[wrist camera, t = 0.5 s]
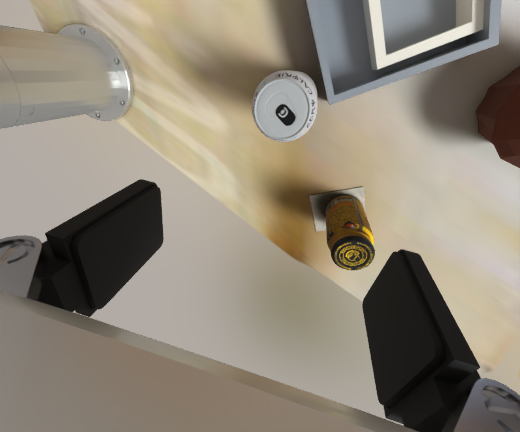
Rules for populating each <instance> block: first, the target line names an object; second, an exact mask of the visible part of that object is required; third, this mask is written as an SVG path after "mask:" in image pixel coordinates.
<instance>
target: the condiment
mask: <svg viewBox="0 0 520 432" xmlns="http://www.w3.org/2000/svg"><path fill="white" fill-rule="evenodd" d="M309 197H310V202H311V207H312V212H313V217H314V223H315V228H316V231H324V230H326V231H327V244H328V247H329V249H330V251H331V257H332V259H333V261H334V263H335V264H336V265H338V266H339V267H341V268H343V269H347V270H359V269H362V268H364V267H367V266H368V265H369V264H370V263H371V262H372V260H373V258H374V255H375V250H374V247H373V242H374V238H373V234H372V231H371V229H370V225H369V223H368V220H367V217H366V211H365V196H364V187H361V188H353V189H347V190H341V191H335V192H330V193H322V194H317V195H311V196H309ZM325 219H326V220H325Z"/></svg>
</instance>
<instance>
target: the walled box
mask: <svg viewBox="0 0 520 432" xmlns="http://www.w3.org/2000/svg"><path fill="white" fill-rule="evenodd" d="M501 1H502V0H306V4H307V9H308V14H309V18H310V23H311V28H312V32H313V37H314V41H315V46H316V51H317V55H318V60H319V64H320V69H321V74H322V78H323V83H324V88H325V92H326V97H327V101H328V104H329V105H331V104H334V103H337V102H339V101H342V100H345V99H348V98H351V97H353V96H356V95H359V94H362V93H365V92H367V91H370V90H373V89H376V88H378V87H381V86H384V85H387V84H390V83H392V82H395V81H398V80H401V79H404V78H406V77H409V76H412V75H415V74H418V73H420V72H423V71H426V70H429V69H432V68H434V67H437V66H440V65H443V64H446V63H448V62H451V61H454V60H457V59H460V58H462V57H465V56H468V55H471V54H474V53H476V52H479V51H482V50H485V49H487V48H490V47H493V46H496V45H499V32H500V16H501Z"/></svg>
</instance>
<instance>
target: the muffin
mask: <svg viewBox="0 0 520 432" xmlns="http://www.w3.org/2000/svg"><path fill="white" fill-rule="evenodd" d="M476 115H477V119H478V132H479V133H480V134H481V135H482V136H484V137H485V138H486V139H487V140H489V141H490V142H491V143H492V144H494V146H495V148H496V150H497V152H498V155H499V157H500V159H502V160H504V161H506V162H509V163H511V164H513V165H515V166H517V167H519V168H520V67H517V68H516V69H515V70H513V71H512V72H511V73H510V74H508V75H507V76H506V77H505V78H503V79H502V80H500V81H498V82H497V83H495V84H493V85H492V86H490V87H489V89H488V91H487V94H486V96H485V98H484V100H483V101H482V103H481V104H480V106H479V107H478V109H477V110H476Z"/></svg>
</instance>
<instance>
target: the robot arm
mask: <svg viewBox="0 0 520 432" xmlns="http://www.w3.org/2000/svg"><path fill="white" fill-rule="evenodd" d="M132 97H133V83H132V77H131V73H130V70H129V67H128V65H127V63H126V61H125V59H124V57H123V55H122V54H121V52H120V50H119V49H118V48H117V46H116V45H115V44H114V43H113V42H112V41H111V40H110V39H109V38H108V37H107V36H106V35H105V34H104V33H102V32H100V31H99V30H97V29H95V28H93V27H90V26H87V25H82V24H70V25H67V26H65V27H63V28H62V29H61V30H60V31H59V32H58V33H57V34H53V33H47V32H40V31H34V30H27V29H21V28H14V27H7V26H1V25H0V129H1V128H7V127H13V126H19V125H24V124H30V123H36V122H42V121H47V120H53V119H59V118H65V117H70V116H76V115H82V114H86V115H88V116H90V117H92V118H95V119H97V120H102V121H110V120H115V119H118V118H120V117H122V116H123V115H124V114H125V113H126V112H127V111H128V109H129V108H130V105H131V102H132ZM45 235H46V237H47V241H46V242H44V243H42V242H41V241H40V240H39V239H38V238H35V237H32V236H13V237H7V238H3V239H0V432H520V395H518V394H517V393H516V392H514V391H513V390H512V389H510V388H509V387H507V386H506V385H504V384H502V383H500V382H498V381H495V380H492V379H487V378H483V379H481V378H480V376H479V374H478V372H477V369H479V368H480V366H479V364H478V362H477V360H476V358H475V357H474V355H473V353H472V351H471V349H470V347H469V345H468V343H467V342H466V340H465V338H464V336H463V334H462V332H461V330H460V329H459V327H458V325H457V323H456V321H455V319H454V317H453V316H452V314H451V312H450V310H449V308H448V306H447V304H446V303H445V301H444V299H443V297H442V295H441V293H440V291H439V289H438V288H437V286H436V284H435V282H434V280H433V278H432V276H431V275H430V273H429V271H428V269H427V267H426V265H425V263H424V262H423V260H422V258H421V256H420V255H419V254H417V253H414V252H410V251H406V250H403V249H401V250H399V251H398V252H393V253H392V254H391V256H390V257H389V259H388V261H387V262H386V264H385V266H384V267H383V269H382V270H381V272H380V274H379V275H378V277H377V278H376V280H375V282H374V283H373V285H372V286H371V288H370V290H369V291H368V293H367V295H366V296H365V298H364V300H363V313H364V319H365V325H366V331H367V337H368V342H369V348H370V354H371V360H372V366H373V372H374V378H375V384H376V390H377V396H378V400H379V402H380V404H382V405H384V410H385V416H386V418H388V419H390V420H393V421H396V422H399V423H402V424H404V426H402V425H399V424H396V423H394V422H391V421H388V420H385V419H382V418H380V417H377V416H374V415H372V414H369V413H366V412H364V411H361V410H358V409H355V408H352V407H349V406H346V405H344V404H341V403H338V402H335V401H332V400H329V399H326V398H323V397H320V396H318V395H314V394H312V393H309V392H306V391H303V390H300V389H297V388H295V387H292V386H289V385H286V384H283V383H280V382H277V381H274V380H272V379H269V378H266V377H263V376H260V375H257V374H254V373H251V372H248V371H245V370H242V369H239V368H236V367H234V366H231V365H228V364H225V363H222V362H219V361H216V360H213V359H210V358H207V357H204V356H201V355H198V354H195V353H193V352H189V351H187V350H183V349H181V348H178V347H175V346H172V345H169V344H166V343H163V342H160V341H157V340H154V339H151V338H148V337H145V336H142V335H139V334H136V333H133V332H130V331H127V330H124V329H121V328H118V327H115V326H112V325H109V324H106V323H103V322H100V321H97V320H94V319H92V318H89V317H90V316H91V315H92V314H93V313H94V312H95V311H96V310H97V309H101V308H103V307H104V306H105V305H106V304H107V303H108V302H109V301H110V300H111V299H112V298H113V297H114V296H115V295H116V294H117V292H118V291H119V290H120V289H121V288H122V287H123V286H124V285H125V284H126V283H127V282H128V281H129V280H130V279H131V278H132V277H133V275H134V274H135V273H136V272H137V271H138V270H139V269H140V268H141V267H142V266H143V265H144V264H145V263H146V262H147V261H148V260H149V259H150V258H151V257H152V255H153V254H154V253H155V252H156V251H157V250H158V249H159V248H160V247H161V245H162V243H163V224H162V207H161V191H160V188H158V187H157V185H156V183H154V182H149V181H146V180H138V181H136V182H134V183H133V184H131V185H129V186H128V187H126V188H124V189H122V190H121V191H119V192H117V193H115V194H113V195H112V196H110V197H108V198H106V199H105V200H103V201H101V202H99V203H98V204H96V205H94V206H92V207H90V208H89V209H87V210H85V211H83V212H82V213H80V214H78V215H77V216H75V217H73V218H71V219H69V220H68V221H66V222H64V223H62V224H61V225H59V226H57V227H55V228H54V229H52V230H50V231H48V232H47V233H45ZM74 310H75V311H76V312H77V313H79V314H82V315H79V314H76V313H73V311H74ZM83 315H85V316H83ZM86 316H88V317H86Z"/></svg>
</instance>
